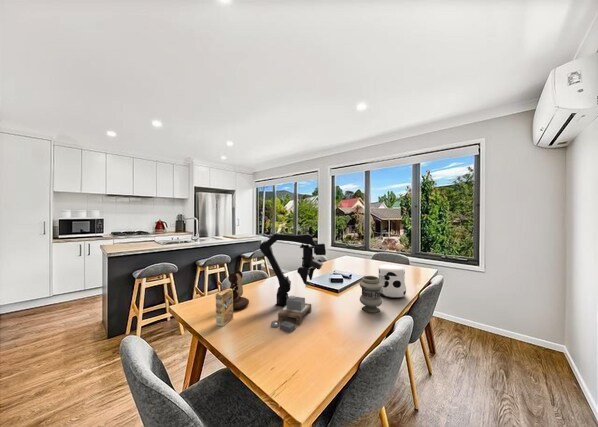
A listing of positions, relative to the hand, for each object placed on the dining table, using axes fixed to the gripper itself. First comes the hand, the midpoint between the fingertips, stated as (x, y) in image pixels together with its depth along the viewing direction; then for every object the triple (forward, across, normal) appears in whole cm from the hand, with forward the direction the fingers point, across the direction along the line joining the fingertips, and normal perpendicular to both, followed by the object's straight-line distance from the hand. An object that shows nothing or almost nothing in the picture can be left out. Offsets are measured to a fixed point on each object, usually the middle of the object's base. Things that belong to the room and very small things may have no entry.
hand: (308, 281), depth 137 cm
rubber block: (+13, -31, -1) cm, 34 cm away
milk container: (+13, +32, -45) cm, 57 cm away
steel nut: (+13, -30, +6) cm, 33 cm away
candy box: (+13, -36, +31) cm, 49 cm away
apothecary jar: (+13, +4, -35) cm, 38 cm away
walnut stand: (+13, -17, +1) cm, 21 cm away
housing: (+9, -17, +1) cm, 19 cm away
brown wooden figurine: (+13, -18, +38) cm, 44 cm away
